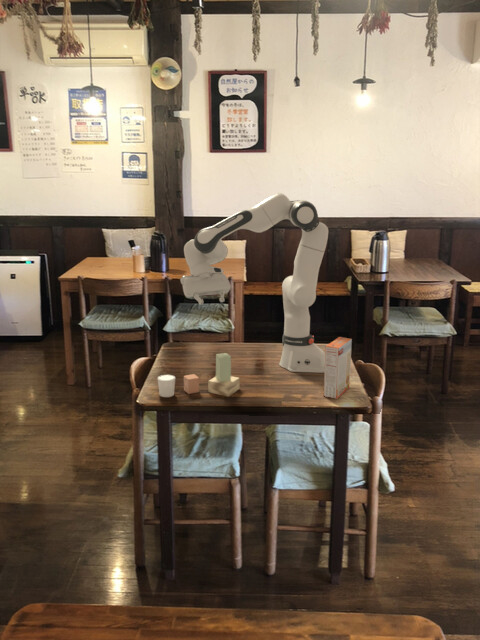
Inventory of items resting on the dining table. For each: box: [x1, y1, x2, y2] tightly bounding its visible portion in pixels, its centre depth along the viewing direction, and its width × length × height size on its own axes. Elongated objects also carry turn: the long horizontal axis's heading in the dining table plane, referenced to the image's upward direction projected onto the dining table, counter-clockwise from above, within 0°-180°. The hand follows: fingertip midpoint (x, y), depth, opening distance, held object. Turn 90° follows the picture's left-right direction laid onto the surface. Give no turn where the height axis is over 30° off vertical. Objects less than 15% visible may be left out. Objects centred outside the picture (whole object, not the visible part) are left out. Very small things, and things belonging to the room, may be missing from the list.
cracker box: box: [323, 336, 353, 400], centre depth 240 cm, size 14×6×21 cm, turn 150°
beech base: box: [207, 375, 240, 397], centre depth 243 cm, size 9×9×5 cm
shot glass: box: [157, 374, 176, 398], centre depth 238 cm, size 7×7×7 cm
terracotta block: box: [183, 373, 200, 395], centre depth 242 cm, size 4×4×6 cm
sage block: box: [215, 352, 232, 382], centre depth 241 cm, size 4×4×10 cm
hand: (212, 302), depth 252 cm, fingers open, 8 cm apart
